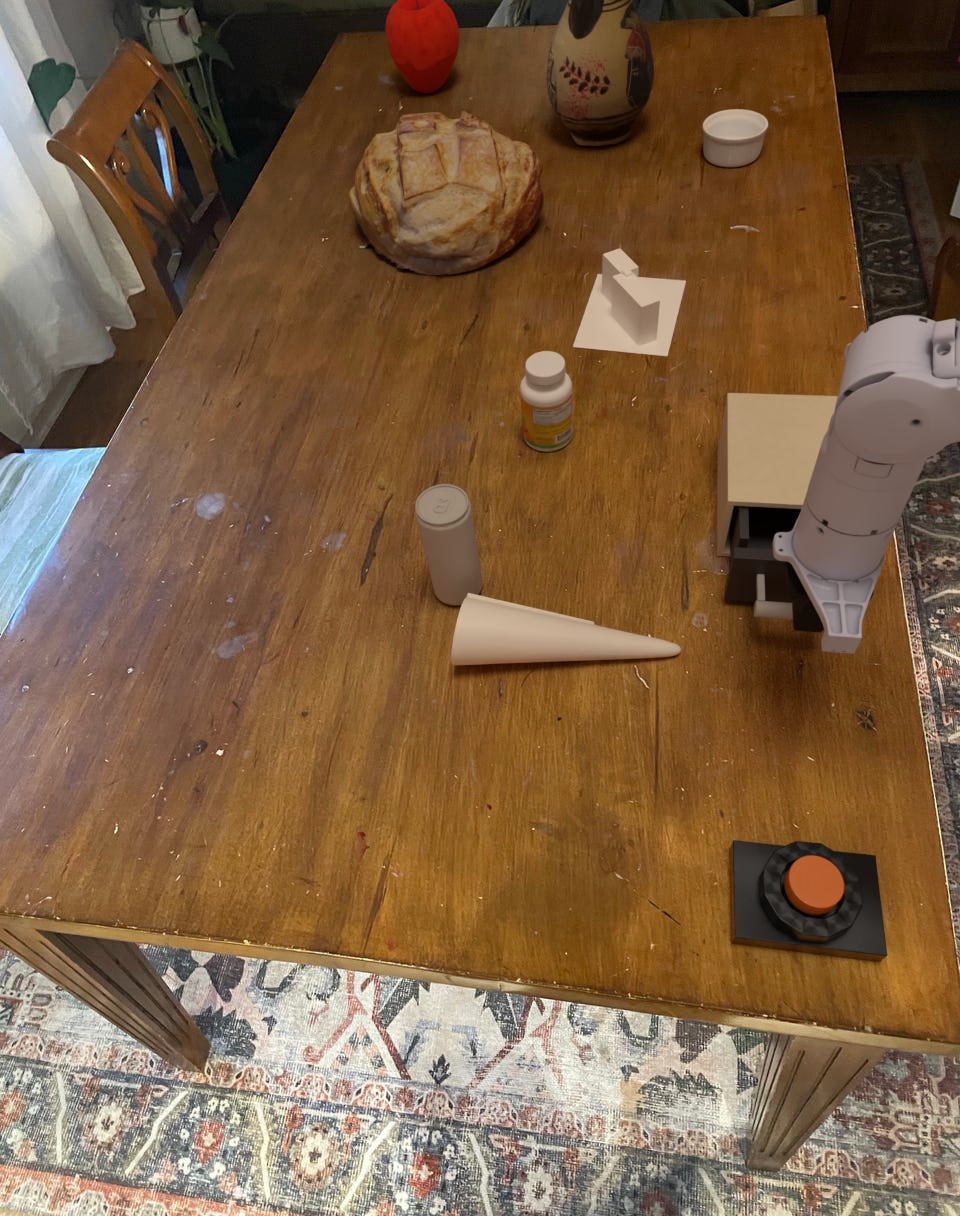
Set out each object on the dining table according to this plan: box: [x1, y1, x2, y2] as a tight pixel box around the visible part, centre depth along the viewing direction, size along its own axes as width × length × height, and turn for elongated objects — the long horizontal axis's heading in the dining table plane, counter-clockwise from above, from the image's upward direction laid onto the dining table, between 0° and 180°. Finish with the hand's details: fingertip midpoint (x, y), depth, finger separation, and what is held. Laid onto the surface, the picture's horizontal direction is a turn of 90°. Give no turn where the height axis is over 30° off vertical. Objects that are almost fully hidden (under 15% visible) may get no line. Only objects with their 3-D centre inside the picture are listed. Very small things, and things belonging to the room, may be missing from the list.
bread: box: [348, 108, 545, 276], centre depth 113 cm, size 25×27×15 cm
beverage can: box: [414, 483, 484, 606], centre depth 76 cm, size 5×5×12 cm
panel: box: [729, 839, 888, 963], centre depth 60 cm, size 10×7×4 cm
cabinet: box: [716, 392, 838, 558], centre depth 80 cm, size 14×11×8 cm
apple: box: [384, 0, 461, 94], centre depth 139 cm, size 12×12×13 cm
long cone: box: [450, 593, 682, 666], centre depth 74 cm, size 6×6×19 cm
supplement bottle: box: [519, 350, 574, 453], centre depth 88 cm, size 5×5×10 cm
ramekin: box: [702, 108, 769, 168], centre depth 120 cm, size 9×9×4 cm
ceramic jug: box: [546, 0, 655, 147], centre depth 117 cm, size 17×15×30 cm
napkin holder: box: [572, 247, 687, 357], centre depth 101 cm, size 15×11×6 cm
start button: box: [784, 855, 844, 915], centre depth 58 cm, size 4×4×2 cm
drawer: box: [723, 506, 801, 621], centre depth 76 cm, size 18×10×6 cm, turn 171°
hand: (807, 624), depth 64 cm, fingers closed
